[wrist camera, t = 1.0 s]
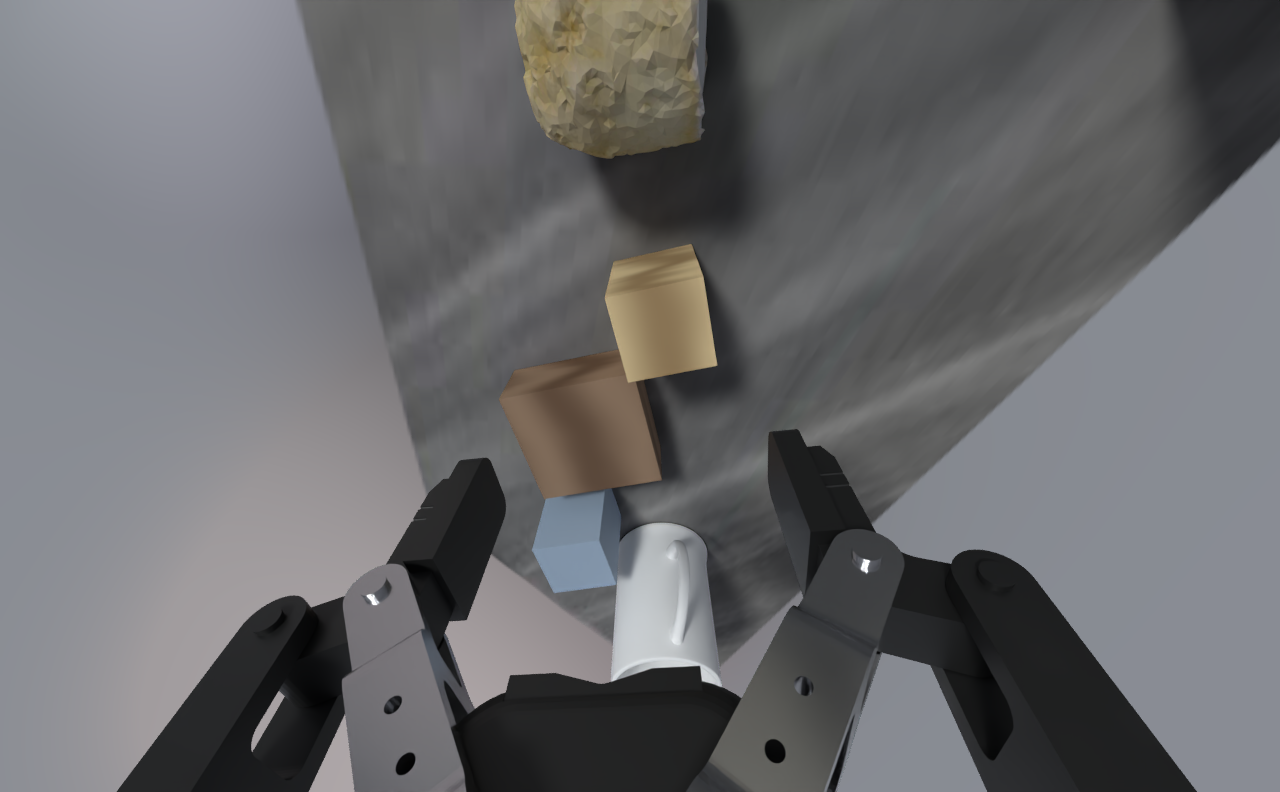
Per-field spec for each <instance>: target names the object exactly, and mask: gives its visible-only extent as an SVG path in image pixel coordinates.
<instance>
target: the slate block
mask: <svg viewBox="0 0 1280 792" xmlns="http://www.w3.org/2000/svg"><path fill="white" fill-rule="evenodd" d="M620 527H621V514H620V511H619V508H618V505H617V503H616V500H615V497H614V494H613V491H612V488H610V489H604V490H597V491H591V492H585V493H579V494H573V495H566V496H560V497H554V498H548V499H546V501H545V505H544V508H543V512H542V516H541V520H540V523H539V527H538V531H537V534H536V538H535V542H534V545H533V549H532V551H533V553H534V555H535V557H536V559H537V560H538V562H539V564H540V566H541V568H542V570H543V572H544V574H545V576H546V578H547V580H548V582H549V584H550V586H551V588H552V590H553V592H554V593H557V592H565V591H572V590H580V589H588V588H595V587H603V586H610V585H617V571H618V556H619V542H620Z"/></svg>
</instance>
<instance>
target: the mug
mask: <svg viewBox="0 0 1280 792" xmlns="http://www.w3.org/2000/svg"><path fill="white" fill-rule="evenodd" d="M706 561H707V548H706V545H705V543H704V541H703V540H702V539H701V537H700V536H699V535H698V534H696V533H695V532H694V531H692V530H691V529H689V528H687V527H684V526H681V525H678V524H673V523H651V524H646V525H643V526H640V527H638V528H635V529H634V530H632V531H630V532H629V533H628V534H626V535H625V536H624V537H623V539H622V540H621V541H620V543H619V556H618V579H617V594H616V609H615V624H614V639H613V654H612V669H611V682H612V681H615V680H618V679H621V678H624V677H627V676H630V675H633V674H636V673H639V672H642V671H645V670H648V669H651V668H666V667H686V666H700V668H701V677H702V681H704V682H708V683H712V684H715V685H717V686H720V687H722V683H721V675H720V667H719V659H718V651H717V644H716V636H715V629H714V621H713V613H712V606H711V598H710V591H709V583H708V575H707V566H706Z"/></svg>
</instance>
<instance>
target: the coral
mask: <svg viewBox="0 0 1280 792" xmlns="http://www.w3.org/2000/svg"><path fill="white" fill-rule="evenodd" d="M514 7H515V12H516V17H517V20H516V24H515V28H516V32H517V36H518V41H519V46H520V51H521V55H522V58H523V61H524V66H525V71H526V72H525V75H524V82H525V86H526V89H527V93H528V95H529V99H530V102H531V106H532V109H533V112H534V114H535V117H536V120H537V122H538V123H540V125H541V128H542V129H543V130H544V131H545V133H546V136H548V137H549V138H550V139H551V140H554V141H556V142H558V143H559V144H561V145H564V146H566V147H568V148H569V149H575V150H579V151H582V152H585V153H587V154H590V155H593V156H596V157H601V158H607V159H613V158H614V156H621V155H626V154H628V155H633V154H636V153H646V152H653V151H658V150H660V149H661V148H669V147H671V146H674V147H677V146H679V145H682V144H685V143H694V142H696V141H698V140H699V141H701V135H702V133H703V132H704V131H705V129H701V128H702V117H703V115H704V113H705V109H704V102H703V96H702V94H703V88H704V81H705V73H706V67H707V59H708V55H707V51H706V32H707V0H516V1H515V5H514Z"/></svg>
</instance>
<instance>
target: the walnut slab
mask: <svg viewBox="0 0 1280 792" xmlns="http://www.w3.org/2000/svg"><path fill="white" fill-rule="evenodd" d="M499 401H500V403H501V405H502V407H503V409H504V412H505V414H506V416H507V418H508V420H509V423H510V425H511V427H512V429H513V431H514V434H515V436H516V438H517V440H518V442H519V445H520V447H521V449H522V451H523V453H524V456H525V458H526V460H527V462H528V464H529V467H530V469H531V471H532V473H533V475H534V478H535V480H536V482H537V484H538V486H539V489H540V491H541V493H542V495H543V497H544V499H548V498H554V497H560V496H566V495H573V494H579V493H585V492H591V491H597V490H604V489H610V488H616V487H622V486H628V485H635V484H641V483H647V482H653V481H659V480H662V471H661V446H660V442H659V438H658V434H657V430H656V426H655V422H654V419H653V415H652V411H651V407H650V403H649V399H648V395H647V391H646V387H645V383H644V380H640V381H635V382H629V383H628V381H627V377H626V373H625V370H624V366H623V363H622V359H621V355H620V352H619V350H614V351H609V352H604V353H599V354H594V355H589V356H584V357H579V358H574V359H569V360H564V361H559V362H554V363H549V364H544V365H539V366H534V367H529V368H524V369H519V370H514V372H513V374H512V376H511V378H510V380H509V382H508V383H507V385H506V387H505V389H504V391H503V393H502V395H501V396H500V398H499Z"/></svg>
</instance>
